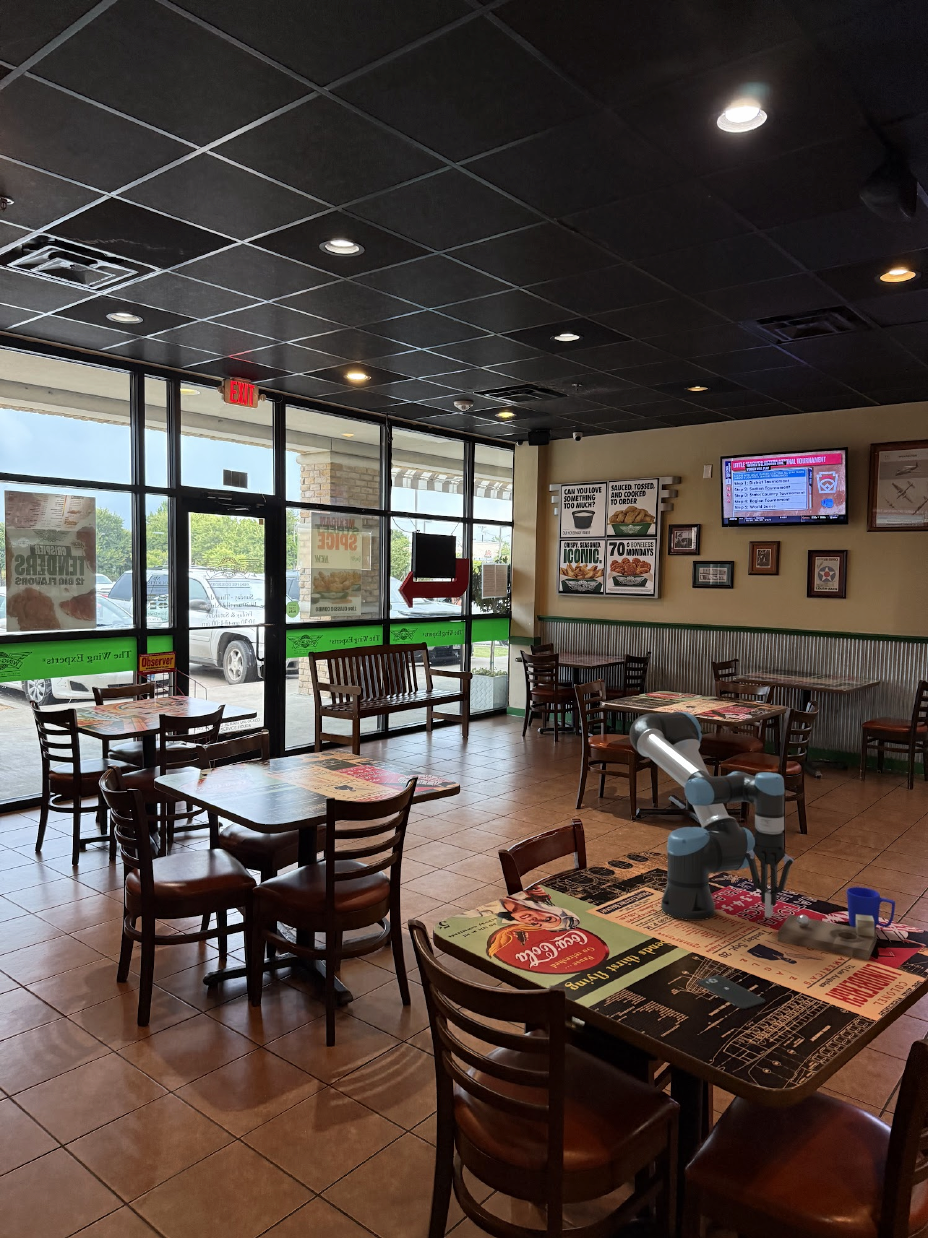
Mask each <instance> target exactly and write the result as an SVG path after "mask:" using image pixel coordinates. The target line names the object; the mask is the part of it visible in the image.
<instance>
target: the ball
mask: <svg viewBox="0 0 928 1238" xmlns="http://www.w3.org/2000/svg"><path fill="white" fill-rule="evenodd" d="M797 916H798V918H797V923H798V925H799V926H801V927H807V926H808V925H809V923H810V920H809V919H810V917H808V916H807V915H806V914H800V915H797Z"/></svg>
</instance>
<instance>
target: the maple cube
mask: <svg viewBox="0 0 928 1238" xmlns="http://www.w3.org/2000/svg"><path fill="white" fill-rule="evenodd" d="M874 931H875V930H874V919H873V917H872V916H868V915H858V914H856V932H857V935H864V936H873V937H874Z"/></svg>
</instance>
